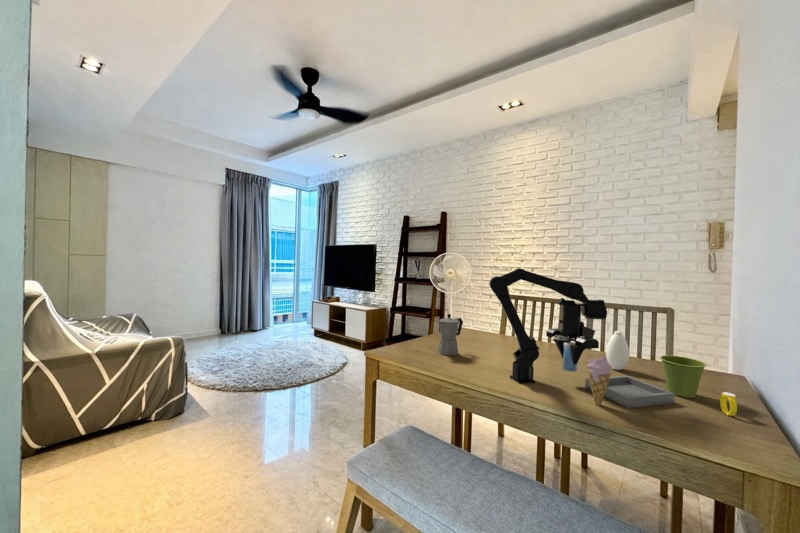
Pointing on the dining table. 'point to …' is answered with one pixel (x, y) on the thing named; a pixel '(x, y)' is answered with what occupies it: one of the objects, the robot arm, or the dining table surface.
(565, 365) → the cylinder
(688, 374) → the plant pot
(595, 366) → the ice cream cone
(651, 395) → the tray
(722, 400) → the watch
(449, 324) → the coffeepot
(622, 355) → the white vase
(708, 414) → the dining table surface
